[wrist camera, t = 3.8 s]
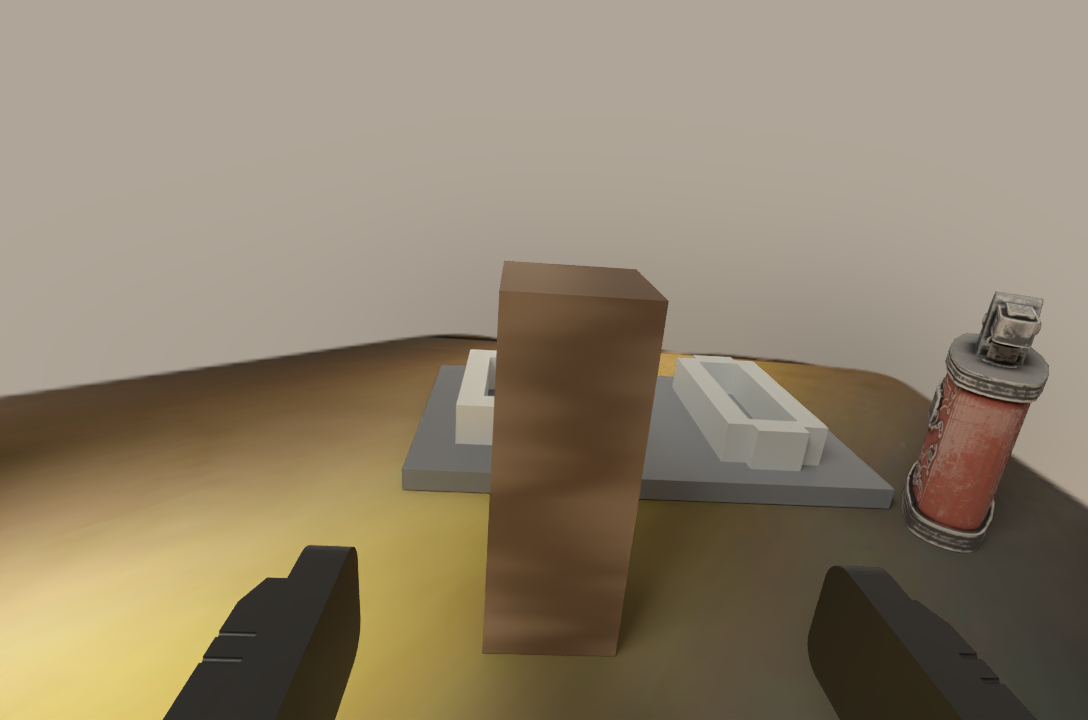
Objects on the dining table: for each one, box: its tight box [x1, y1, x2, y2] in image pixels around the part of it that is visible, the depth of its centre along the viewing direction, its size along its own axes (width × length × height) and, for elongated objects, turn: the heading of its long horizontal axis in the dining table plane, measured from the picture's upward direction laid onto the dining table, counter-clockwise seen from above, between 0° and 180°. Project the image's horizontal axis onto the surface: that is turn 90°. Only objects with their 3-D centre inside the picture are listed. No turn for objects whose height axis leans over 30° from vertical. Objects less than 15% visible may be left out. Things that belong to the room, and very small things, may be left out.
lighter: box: [902, 292, 1049, 553], centre depth 25 cm, size 8×3×10 cm, turn 144°
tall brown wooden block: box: [482, 261, 668, 656], centre depth 17 cm, size 4×4×11 cm
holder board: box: [402, 349, 895, 509], centre depth 31 cm, size 22×13×3 cm, turn 92°
